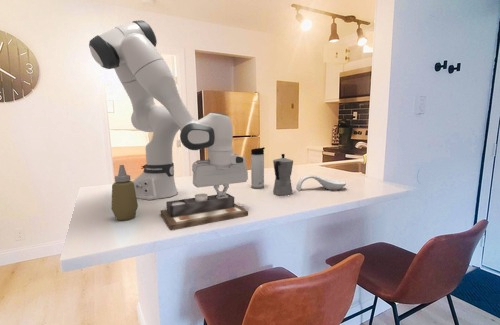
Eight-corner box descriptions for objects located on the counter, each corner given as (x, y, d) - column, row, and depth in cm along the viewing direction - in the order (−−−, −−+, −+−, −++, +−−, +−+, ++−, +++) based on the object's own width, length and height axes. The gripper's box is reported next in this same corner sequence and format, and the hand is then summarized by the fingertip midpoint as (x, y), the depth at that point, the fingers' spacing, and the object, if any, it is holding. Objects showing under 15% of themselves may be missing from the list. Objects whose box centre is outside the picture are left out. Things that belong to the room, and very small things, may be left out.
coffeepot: (278, 189, 128) (278, 152, 125) (297, 191, 124) (297, 152, 121) (265, 197, 114) (265, 155, 112) (286, 199, 110) (286, 156, 108)
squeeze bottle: (111, 223, 84) (106, 167, 82) (113, 215, 92) (108, 164, 89) (138, 219, 88) (135, 165, 85) (138, 212, 95) (135, 162, 92)
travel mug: (263, 189, 128) (263, 148, 125) (250, 188, 129) (249, 147, 127) (265, 186, 134) (265, 146, 131) (252, 185, 135) (252, 146, 133)
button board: (170, 230, 78) (169, 213, 78) (160, 214, 92) (159, 200, 92) (248, 215, 91) (247, 201, 90) (228, 203, 105) (228, 191, 104)
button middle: (197, 206, 90) (196, 197, 90) (193, 202, 94) (193, 194, 94) (209, 204, 92) (209, 195, 92) (205, 201, 96) (205, 193, 96)
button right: (219, 206, 94) (219, 198, 94) (214, 203, 98) (214, 195, 98) (230, 204, 96) (230, 196, 96) (225, 201, 100) (225, 194, 100)
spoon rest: (338, 186, 135) (338, 172, 134) (350, 191, 123) (351, 176, 123) (293, 188, 131) (293, 173, 130) (301, 193, 120) (302, 178, 119)
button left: (173, 215, 87) (173, 206, 86) (170, 211, 91) (170, 203, 90) (186, 213, 89) (186, 204, 88) (183, 209, 93) (183, 201, 92)
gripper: (194, 161, 87) (196, 202, 89) (249, 157, 96) (249, 194, 98) (189, 159, 93) (190, 198, 94) (242, 156, 102) (242, 191, 104)
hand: (221, 196), depth 96 cm, fingers closed, pressing on button right
